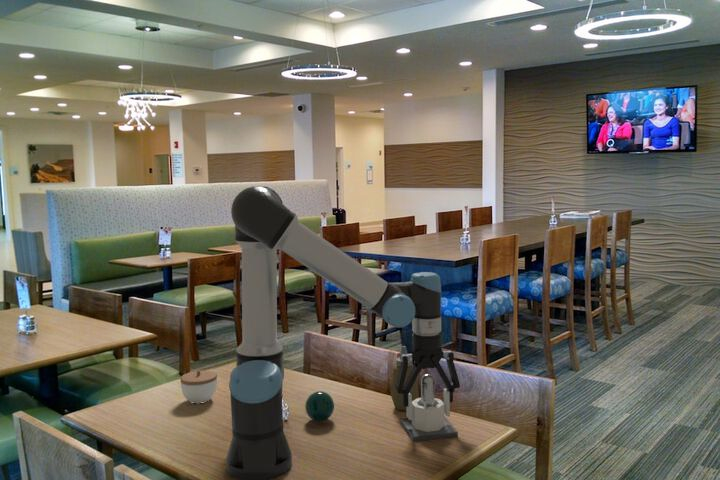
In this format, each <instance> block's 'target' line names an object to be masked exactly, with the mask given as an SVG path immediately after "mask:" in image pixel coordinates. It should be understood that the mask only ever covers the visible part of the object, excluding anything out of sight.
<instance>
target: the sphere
mask: <svg viewBox="0 0 720 480" xmlns="http://www.w3.org/2000/svg"><path fill="white" fill-rule="evenodd" d="M304 406H305V407H304V408H305V413H306V415H307V416H308V417H309V419H311V420H312V421H315V422H324V421H326V420H329V419H330V418H331V417H332V415H333V413H334V410H335V402H334V399H333V397H332V396H331V394H328V393H327V392H325V391H323V390H322V391H321V390H318V391H315V392H312V393H311V394H310V395H309V396H308V397H307V399H306V400H305V405H304Z"/></svg>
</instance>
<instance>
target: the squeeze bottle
mask: <svg viewBox="0 0 720 480" xmlns="http://www.w3.org/2000/svg"><path fill="white" fill-rule="evenodd" d="M399 354H400V355H399V357H397V358H396V359H395V362H396V364H395V365H394V366H393V367H392V377H391V390H390V396H391V400H392V403H393V405H394V408H395V409H396V410H399V411H404V412H405V411H406V407H404V405H403V397H402V394H401V393H400V394H399V393H398V392H397V391H396V390H395V387H396V383H397V378H398V374H399V370H400V366H401V354H405V355H407V354H409V353H408V350H407V346H406V345H402V346H401V350H400V353H399ZM413 365H414V364H413V359H411V360H410V362H409V363H408V369H407V373H406V377H405V381H404V384H405V382H406V380H407V378H408V376H409V374H410V372H411V370H412V368H413ZM418 384H419V383H418V377H417V378H416V380H415V382H414V384H413V386H412V388H411V390H410V392H409V393H410V394H411V395H412V401H414V400H415V399H417V398H420V395H419V393H420V392H419V385H418ZM403 386H404V385H403Z"/></svg>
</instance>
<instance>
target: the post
mask: <svg viewBox="0 0 720 480" xmlns="http://www.w3.org/2000/svg"><path fill="white" fill-rule="evenodd" d="M435 391H436V390H435V378H434V376H433V375H432V374H430V373H425V374H423V375H422V376H421V379H420V398H421V406H423V407H433V406H435V394H436V393H435ZM399 420H400V425H402V427H403V429H404V430H405V432H406V434H407V435H408V437H409V438H410V440H411V441H412V442H419V441H427V440H429V441H430V440H437V439H447V438H454V437H459V431H458V430H457V429H456V428H455V427H454V425H453V424H452V423H451V422H450V421H449V419H448V418H447V416H446V415H444V427H442V428H441V429H440V430H438V431H429V432H425V431H421V430H417V429H415V428H414V427H413V425H412V420H409V419H408V418H407V417H401V418H400V419H399Z"/></svg>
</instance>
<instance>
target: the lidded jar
mask: <svg viewBox="0 0 720 480" xmlns="http://www.w3.org/2000/svg"><path fill="white" fill-rule="evenodd" d="M217 375H218V374H217V373H216V372H215V371H214V370H200V369H198V370H195V371H190V372H187V373H184V374H183V375H181V376H180V378H179V379H180V387H181V392H182V395H183V397H184V398H185V399H186V400H187V401H188V402H189V403H190V402H193V403H201V402H205V401H208V400H210V401H211V399H212V398H213V396H214V395H215V394H216V391H217V387H218V385H217V383H218V380H217V378H218V376H217ZM208 402H209V401H208Z"/></svg>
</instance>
